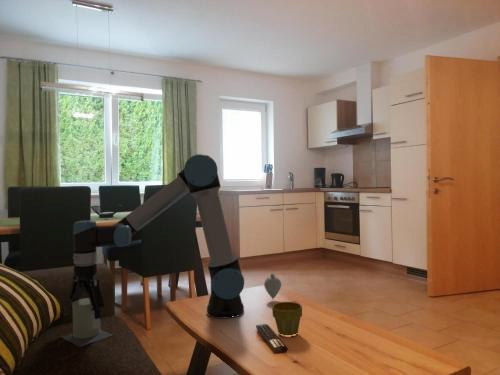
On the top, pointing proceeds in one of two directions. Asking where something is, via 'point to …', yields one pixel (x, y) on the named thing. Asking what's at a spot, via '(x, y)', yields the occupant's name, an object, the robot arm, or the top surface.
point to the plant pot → (287, 317)
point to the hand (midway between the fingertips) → (86, 323)
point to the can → (83, 319)
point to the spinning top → (272, 285)
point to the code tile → (86, 340)
